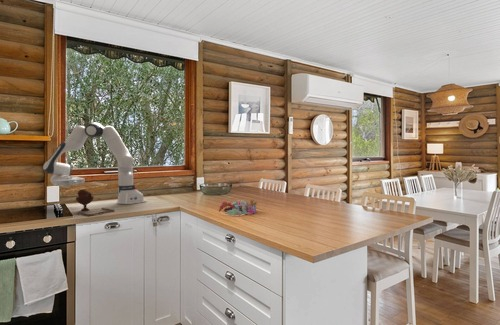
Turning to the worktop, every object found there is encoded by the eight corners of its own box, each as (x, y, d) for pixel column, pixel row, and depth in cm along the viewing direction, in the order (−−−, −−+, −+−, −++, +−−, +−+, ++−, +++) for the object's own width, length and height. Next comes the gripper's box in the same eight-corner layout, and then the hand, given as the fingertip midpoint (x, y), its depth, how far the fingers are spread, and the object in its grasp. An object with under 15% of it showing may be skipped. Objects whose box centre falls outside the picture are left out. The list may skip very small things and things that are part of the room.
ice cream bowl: (86, 212, 208) (85, 190, 207) (72, 211, 210) (71, 190, 210) (97, 209, 218) (96, 188, 218) (83, 208, 221) (83, 188, 220)
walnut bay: (102, 209, 218) (102, 207, 218) (114, 211, 211) (114, 209, 211) (77, 213, 203) (77, 212, 203) (88, 216, 196) (88, 214, 196)
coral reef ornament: (232, 208, 224) (232, 195, 223) (261, 211, 213) (261, 198, 213) (214, 214, 201) (214, 201, 201) (246, 218, 191) (246, 204, 191)
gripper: (50, 178, 218) (59, 179, 211) (78, 176, 236) (88, 177, 228) (50, 186, 219) (60, 188, 211) (79, 184, 236) (88, 185, 229)
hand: (75, 182), depth 220 cm, fingers closed
